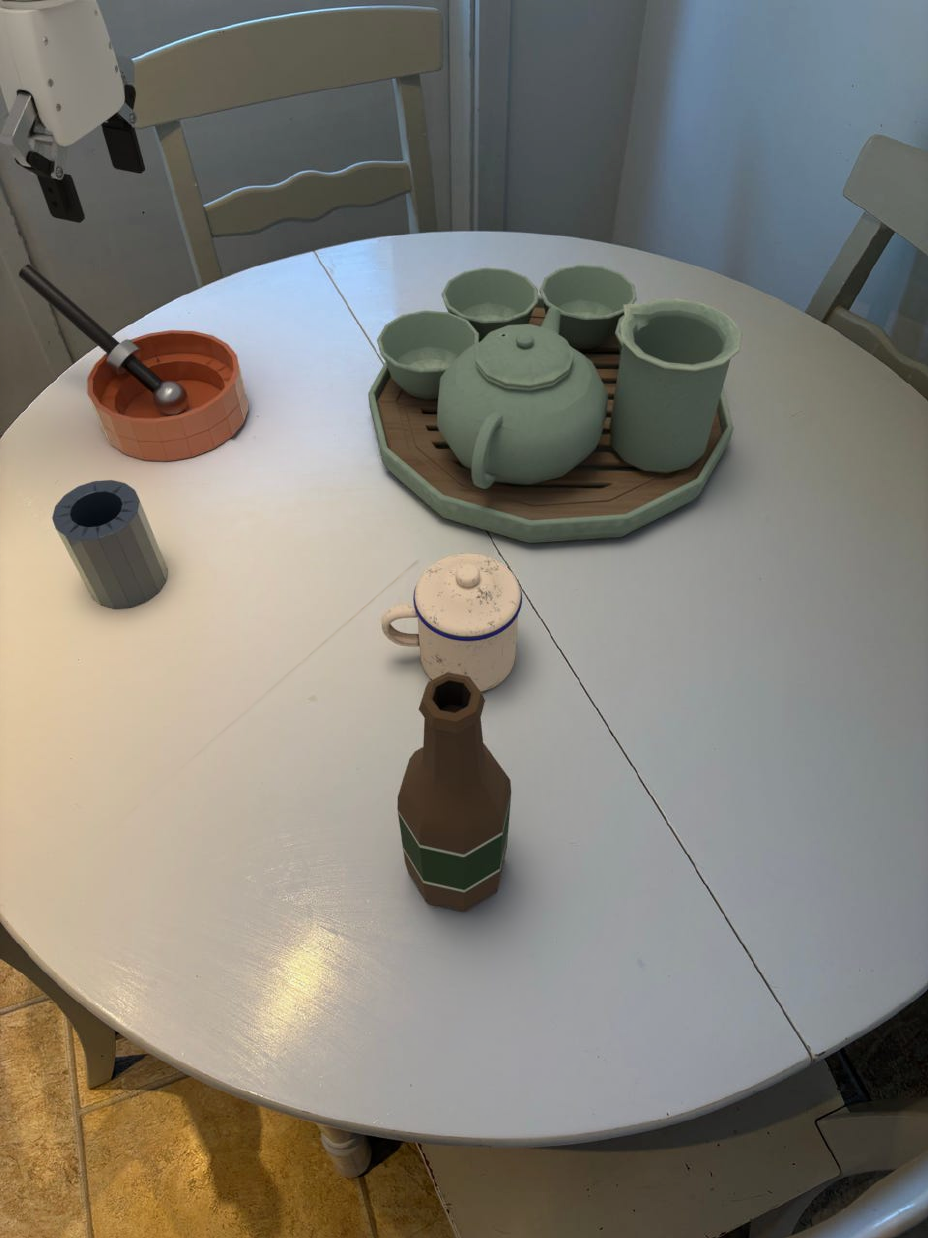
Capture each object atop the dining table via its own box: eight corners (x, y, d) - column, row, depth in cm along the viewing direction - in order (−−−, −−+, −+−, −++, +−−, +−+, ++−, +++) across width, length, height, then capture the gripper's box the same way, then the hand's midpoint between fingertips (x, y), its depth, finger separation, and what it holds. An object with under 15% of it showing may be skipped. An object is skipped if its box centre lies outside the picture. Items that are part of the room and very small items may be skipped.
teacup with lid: (513, 614, 84) (518, 528, 75) (522, 695, 78) (529, 612, 69) (385, 620, 83) (375, 534, 74) (386, 702, 78) (375, 620, 69)
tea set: (696, 321, 113) (726, 192, 100) (749, 554, 88) (798, 423, 75) (385, 316, 114) (375, 188, 101) (351, 546, 89) (331, 415, 76)
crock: (75, 586, 86) (35, 513, 78) (136, 542, 90) (105, 468, 82) (122, 624, 83) (86, 552, 75) (184, 578, 87) (156, 504, 79)
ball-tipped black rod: (171, 427, 101) (13, 290, 98) (194, 405, 103) (39, 269, 99) (173, 414, 98) (9, 271, 94) (196, 392, 99) (36, 250, 96)
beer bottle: (446, 801, 72) (437, 618, 53) (526, 854, 69) (548, 681, 50) (385, 876, 68) (353, 708, 49) (468, 936, 65) (467, 782, 46)
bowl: (75, 423, 101) (56, 380, 96) (187, 356, 109) (174, 313, 104) (166, 486, 95) (151, 442, 90) (278, 410, 102) (269, 366, 98)
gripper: (57, -67, 74) (118, 146, 87) (-88, 1, 64) (6, 231, 77) (136, -57, 72) (185, 159, 86) (0, 15, 62) (80, 247, 75)
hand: (100, 193), depth 81 cm, fingers open, 9 cm apart
